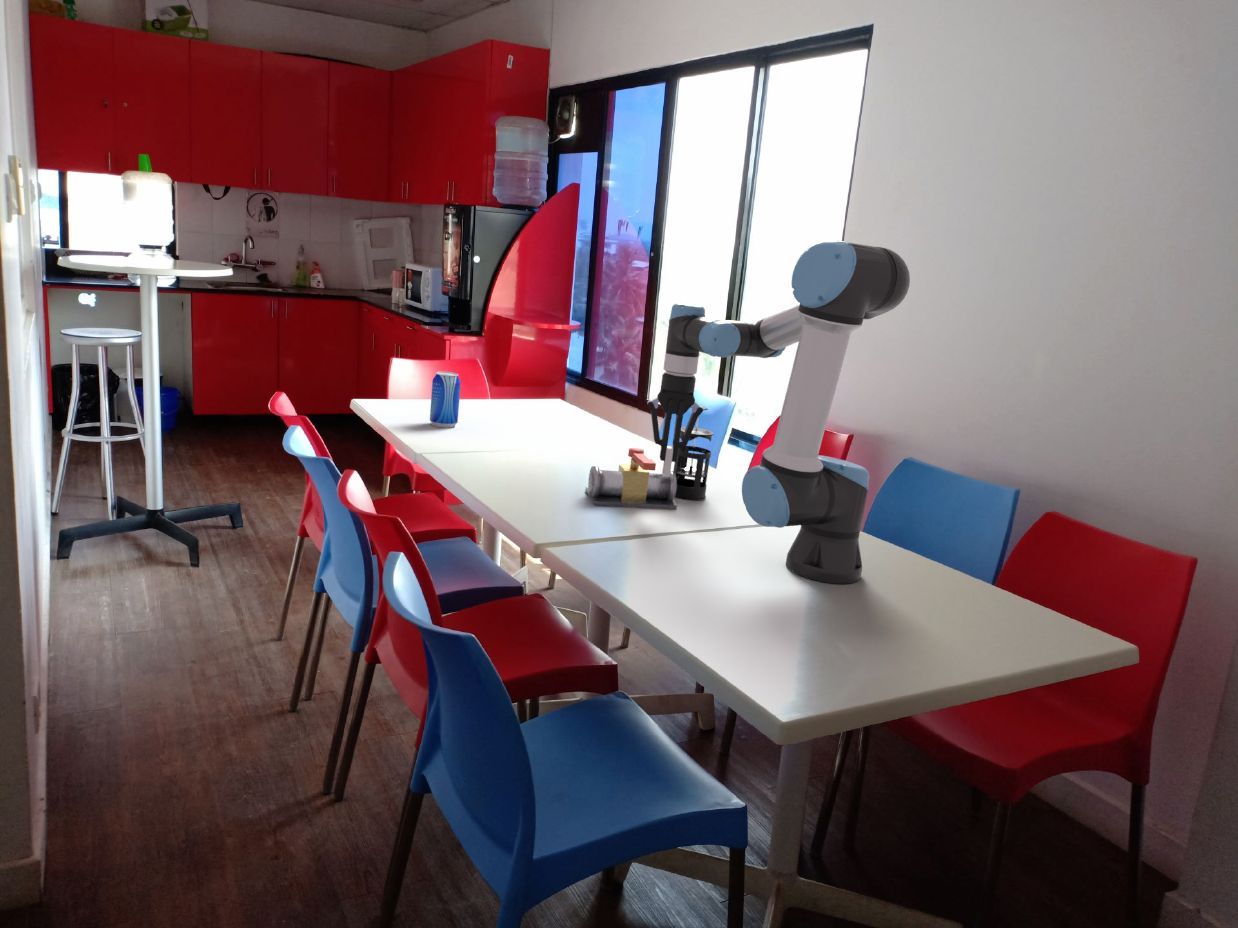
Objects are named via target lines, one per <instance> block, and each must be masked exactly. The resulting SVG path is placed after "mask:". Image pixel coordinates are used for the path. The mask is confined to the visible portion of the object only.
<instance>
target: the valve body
mask: <svg viewBox="0 0 1238 928" xmlns="http://www.w3.org/2000/svg"><path fill="white" fill-rule="evenodd" d="M587 485H588V486H587V487H585V490H584V492H585V491H586V492H585V493H586V495H587V494H588V495H587V496H588V498H589V499H590V501H591V502H592V504H593V505H594V506H595V507H596V506H597V507H598V506H599V507H615V508H617V507H618V508H634V509H637V508H638V509H653V510H654V509H656V510H672V511H673V510H677V509H678V505H677V504H676V503H675V502H674V500H675V499H676V497H675V495H676V488H677V481H676V475H675V472H674V470H670V477H669V476H663V474H662V473H652V472H649V470H643V469H642V468H641V467H640V466H639V464H638V463H637V462H636V461H635V460H634V459H633V458H632V457H630V464H619V465H618V470H603V469H600V468H599V466H595V465H592V466H591V467H590V469H589V474H588V483H587Z"/></svg>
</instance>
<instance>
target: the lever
mask: <svg viewBox="0 0 1238 928" xmlns="http://www.w3.org/2000/svg"><path fill="white" fill-rule="evenodd" d="M644 453H645V450H644V449H642V448H638V447H637V448H636V447H631V448H628V455H627V456H628V457H630V458H633V459H634V460H635V461H636V462H637V463H638V464H639V466H640V467H641V468H642V469H643V470H648V471H656V467H657V463H656V462H655V461H654V460H653V459H652V458H651V459H650V458H648V457H647V456H646V455H645V454H644Z"/></svg>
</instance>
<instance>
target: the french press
mask: <svg viewBox="0 0 1238 928" xmlns="http://www.w3.org/2000/svg"><path fill="white" fill-rule="evenodd" d="M700 406H701V405H700ZM701 407H702V408H703V411H708V410H709V409H708V408H707V407H705V406H701ZM690 409H692V406H691V407H690ZM699 418H700V415H699V416H698V418H697V420H696V423H695V426H694V428H693V431H692V433H691V436H690V438H689V441H688V442H690V441H693V440H694V441H693V445H687V446H686V447H680V448H679V449H678V454H677V460H676V462H673V463H674V465H673V471H674V472H675V475H676V481H677V488H676V495H675V499H680V500H684V501H694V502H698V501H704V500H706V498H707V495H706V492H707V491H706V490H707V479H708V473H709V465H710V459H711V457H712V450H710V449H707V448H705V447H701V446H696V441H697V438H703V439H707V440H709V442H712V436H715V435H714V434H715V432H713V431H712V430H709V429H705V428H701V427H699ZM686 427H687V426H681V433H680V440H681V439H682V437H683V434H684V432H685V429H686ZM688 459H691V462H690V466H689V467H688V466H687V465H688ZM694 459H695V460H696V466H695V467H693V461H694ZM687 477H688V478H687ZM693 478H694V479H693Z"/></svg>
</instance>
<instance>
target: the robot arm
mask: <svg viewBox="0 0 1238 928" xmlns="http://www.w3.org/2000/svg"><path fill="white" fill-rule="evenodd" d="M910 280H911V277H910V271H909V268H908V265H907V263H906V262H905V260H904V258H902V257H901V255H899V254H898V253H896V252H895V251H893V250H892V249H889V248H887V247H881V246H872V245H867V244H865V245H864V244H861V243H860V244H859V243H854V242H847V241H845V240H842V241H841V240H822V241H818V242H816V243H813V244H812V245H811V246H810V247H808V248H806V250H804V251H803V252H802V254H801V255H800V257H799V258H798V259H797V261H796V264H795V265H794V267H793V271H792V275H791V288H792V289H793V291H792V295H793V297H794V298H795V300H796V301H797V303H794V304H793V305H791V306H788V307H785V308H784V309H782V310H779V311H777V312H775V313H773V314H770V315H768V316H767V317H765V318H762V319H759V320H758V321H743V320H730V319H727V320H726V319H718V318H711V317H706V310H705V309H706V308H705V307H704V306H702V305H698V304H697V305H696V304H690V303H681V302H677V303H674V304H672V307H671V311H670V316H669V320H668V327H667V328H668V329H667V338H666V344H665V345H666V346H665V355H664V362H663V370H664V372H663V373H662V375H661V376H662V377H661V382H660V390H659V393H658V394H657V396H656V397H655V398H653V399H649V400H647V402H646V403H647V406H648V409H649V411H650V415H651V423H652V425H651V426H652V435H653V441H654V443H655V444H656V445H659V446H660V452H659V459H660V461H662V462H663V463H662V464H663V466H662V473H661V474H663V476H669V477H670V471H672V462H673V463H675V462H676V460H677V454H678V449H679V448H680V447H686V446H688V443H689V442H690V441H689V438H690V436H691V433H692V431H693V428H694V427H696V424H697V418H698V416H699V417H700V415H701V414H702V413H703V412H704V410H703V408H702V407H703V406H702V407H701V405H699V404H698V403H697V402H696V399H695V396H694V393H695V387H696V376H695V375H696V374H697V373H698V372H697V371H698V365H699V356H700V353H702V354H707V355H709V356H711V357H713V358H714V357H717V358H728V357H730V356H731V357H751V358H761V359H768V358H777V357H779V356H781V355H782V353H783V352H784V351H785V350H786V348H787V347H789V346H792V345H794V344H797V343H798V344H797V348H796V352H795V357H794V361H793V364H792V367H791V368H792V369H791V371H790V377H789V381H788V384H787V388H786V393H785V396H784V401H783V404H782V408H781V413H780V416H779V421H778V424H777V428H776V432H775V436H774V440H773V444H772V445H771V446H769V447H767V448H766V449H764V450H763V451H762V455H761V460H760V463H759V465H754V466H752V467H751V468H750V469H749V470H747V471H746V472H745V474H744V476H743V477H742V483H741V497H742V501H743V504H744V506H745V510H746V512H747V513H748V515H749V517H750V518H751V519H752V520H753V521H754V523H757V524H758V525H760V526H761V527H771V528H778V529H779V528H780V529H781V528H784V527H794V526H795V527H796V526H800V529H799V531H798V534H797V535H796V537H795V539H794V541H793V542H792V544H791V545H790V548H789V549H788V552H787V555H786V560H785V566H786V567H787V569H789V570H790V571H791V572H793V573H795V574H797V575H799V576H801V577H804V578H807V579H810V580H812V581H813V580H814V581H816V582H822V583H828V584H840V585H841V584H845V585H846V584H852V583H856V582H858V581H860V580H861V577H862V572H863V562H862V556H861V548H860V543H859V539H860V532H861V528H862V522H863V519H864V511H865V508H866V502H867V496H868V493H869V490H870V487H869V484H870V477H871V476H870V473H869V470H868V469H866V467H864V466H862V465H860V464H856V463H854V462H850V461H847V460H844V459H840V458H836V457H832V456H826V455H819V453H820V449H821V445H822V442H823V440H824V439H823V438H824V433H825V431H826V427H827V424H828V420H829V416H830V413H831V409H832V405H833V400H834V397H835V393H836V389H837V385H838V382H839V379H840V373H841V372H842V366H843V364H844V360H845V356H846V352H847V348H848V345H849V341H850V337H851V334H852V332H854V331H855V330H857V329H859V328H860V327H862V326H863V322H864V320H872V318H875V317H878V316H880V315H884V314H886V313H888V312H891V311H892V310H894V309H895V308H897V307H898V306H900V305H901V303H902V302H903V301H904V300H905V298H906V295H907V294H908V291H909V289H910V283H911V281H910ZM659 404H660V406H661V408H662V409H663V411H664V420H663V428H662V435H660V427H659V422H658V421H659V418H658V411H657V409H658V408H659ZM691 407H692V408H691ZM689 409H691V414H690V416H689V419H688V422H687V423H686V424H687V425H686V426H685V427H686V429H685V432H684V434H683V437H682V439H681V438H680V433H681V427H683V426H682V425H683V419H684V415H685V414H686V413H687V412H688V411H689ZM673 415H675V421H674V428H673V429H674V430H673V438H672V446H671V445H668V443H669V438H670V437H669V436H670V429H671V421H672V416H673ZM660 436H662V437H660Z"/></svg>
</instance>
